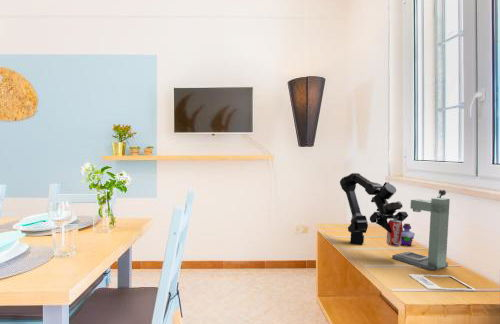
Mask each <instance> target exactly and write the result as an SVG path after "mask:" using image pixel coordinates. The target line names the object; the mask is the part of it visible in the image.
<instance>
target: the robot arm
mask: <svg viewBox="0 0 500 324" xmlns="http://www.w3.org/2000/svg"><path fill="white" fill-rule="evenodd" d="M357 184H358V185H359V186H361V187H362V188H363V189H364V191H365V192H366V193H367V195H369V196H372V197H371V200H370V202H371V203H374V204H375V206H376V207H377V209H376V211H374V212H373V213H372V214H371V215H370V216H369V221H370V223H371V224H373V223H375V224H377V225H378V226H380V227H382V228H383V229H384V230H386V231H388V232H389V233H391V232H392V231H391V228H390V226H389V224H388V222H389V221H388V220H399V221H402V222H403V221H404V220H406V219H407V218H409V214H408V212H407V211H398V210H401V209H402V208H403V204H402V202H401V201H396V202H395V201H394V202H390V203H389V202H388V200H390V199H391V198H392V197H393V196H394V195H395V194H396V192H397V188H396V187H395V186H394V185H393V184H391V183H390V182H389V181H385V182H384V183H383V185H382V184H380V183H377V182H373V181H370V180H369V179H367V178H366V177H365V176H363V175H361V173H357V172H352V173H350V174H349V175H347V176H343V177H342V178H341V179H340V181H339V185H340V187H341V189H342V191H344V192H345V195H346V197H347V202H348V205H349V208H350V212H351V216H352V217H351V219H350V224H349V225H348V227H347V231H348V232H349V233H350V241H349V244H351V245H352V244H353V245H359V246H362V245H363V244H364V243H365V235H364V234H366V233H367V230H368V228H369V221H368V219H367V216H366V215H363V214H362V213H361V209H360V205H359V202H358V199H357V194H356V192H355V191H356V188H357ZM397 211H398V212H397ZM395 213H396V214H395ZM403 231H404V228H403V226H402V232H403Z"/></svg>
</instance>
